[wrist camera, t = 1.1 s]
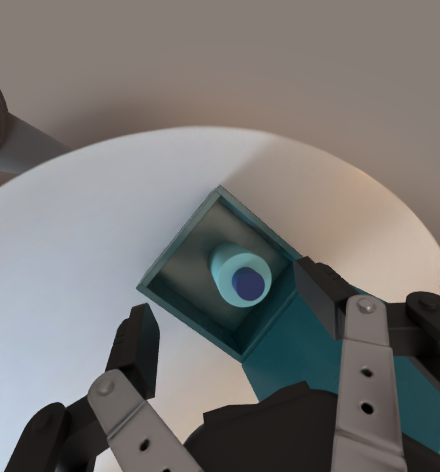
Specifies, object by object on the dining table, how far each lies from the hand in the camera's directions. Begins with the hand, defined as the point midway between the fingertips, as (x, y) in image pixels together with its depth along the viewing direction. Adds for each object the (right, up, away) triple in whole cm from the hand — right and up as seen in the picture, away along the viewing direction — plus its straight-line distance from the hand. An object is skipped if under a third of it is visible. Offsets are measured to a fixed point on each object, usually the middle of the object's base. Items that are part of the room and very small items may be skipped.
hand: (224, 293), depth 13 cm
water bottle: (+1, -1, +20) cm, 20 cm away
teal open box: (0, -1, +21) cm, 21 cm away
